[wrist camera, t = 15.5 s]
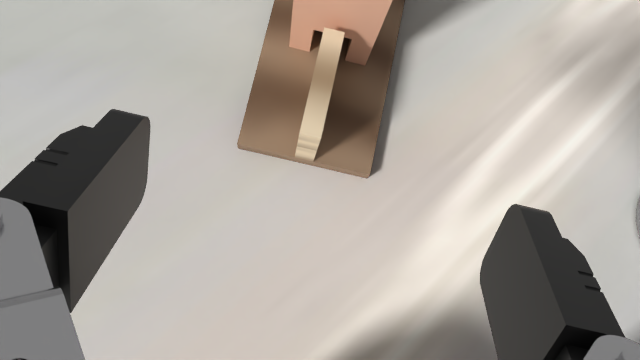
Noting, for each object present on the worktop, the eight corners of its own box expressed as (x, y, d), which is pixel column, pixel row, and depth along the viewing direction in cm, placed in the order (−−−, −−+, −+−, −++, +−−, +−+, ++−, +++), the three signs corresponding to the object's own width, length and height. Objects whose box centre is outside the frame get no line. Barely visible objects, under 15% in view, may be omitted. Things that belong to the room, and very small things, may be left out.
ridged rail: (367, 178, 42) (387, 154, 35) (238, 148, 42) (232, 117, 35) (412, -48, 47) (438, -110, 40) (296, -78, 46) (301, -145, 39)
